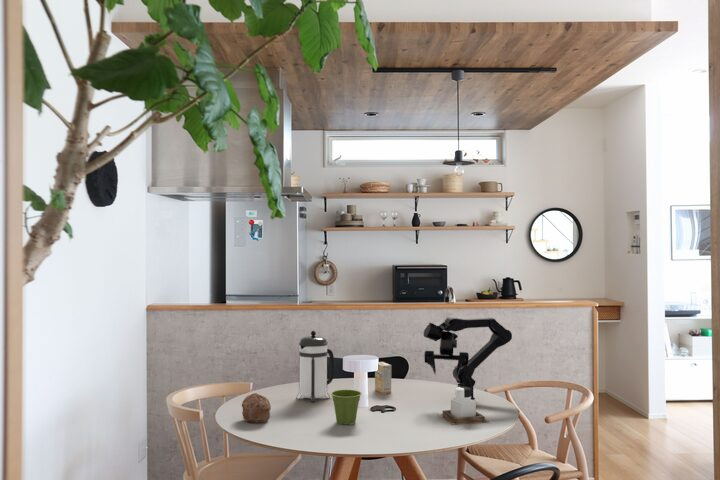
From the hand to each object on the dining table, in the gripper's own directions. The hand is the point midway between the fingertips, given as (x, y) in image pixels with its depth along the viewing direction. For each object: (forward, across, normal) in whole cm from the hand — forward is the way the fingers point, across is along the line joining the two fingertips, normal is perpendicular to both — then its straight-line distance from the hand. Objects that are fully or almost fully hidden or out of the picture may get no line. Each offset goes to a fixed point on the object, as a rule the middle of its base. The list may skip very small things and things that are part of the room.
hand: (446, 374), depth 265 cm
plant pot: (+31, -37, -10) cm, 50 cm away
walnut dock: (+22, +7, -1) cm, 23 cm away
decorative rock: (+33, -72, -12) cm, 80 cm away
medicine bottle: (+21, +7, -2) cm, 23 cm away
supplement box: (-7, -29, +27) cm, 40 cm away
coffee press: (+6, -58, +15) cm, 60 cm away
